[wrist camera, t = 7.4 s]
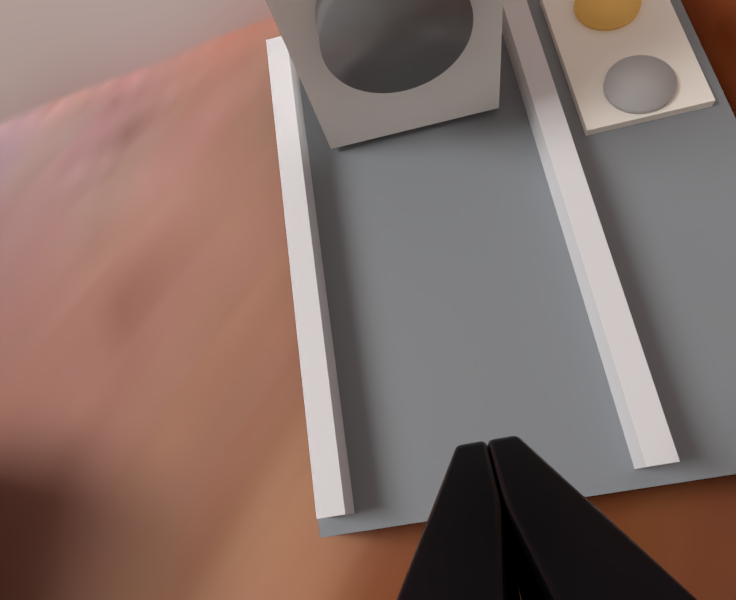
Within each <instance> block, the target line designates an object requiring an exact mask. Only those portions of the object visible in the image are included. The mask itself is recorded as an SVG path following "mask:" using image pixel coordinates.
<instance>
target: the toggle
mask: <svg viewBox="0 0 736 600" xmlns="http://www.w3.org/2000/svg"><path fill="white" fill-rule="evenodd" d="M266 2H267V4H268V6H269V8H270V11H271V13H272V15H273V18H274V20H275V22H276V25H277V27H278V29H279V31H280V34H281V36H282V38H283V41H284V43H285V45H286V47H287V50H288V52H289V54H290V57H291V59H292V61H293V63H294V66H295V68H296V70H297V73H298V75H299V77H300V80H301V82H302V84H303V86H304V89H305V91H306V93H307V96H308V98H309V100H310V102H311V105H312V107H313V109H314V112H315V114H316V116H317V118H318V121H319V123H320V125H321V128H322V130H323V132H324V134H325V137H326V139H327V141H328V144H329V146H330V148H331V149H333V148H337V147H342V146H346V145H350V144H354V143H358V142H362V141H366V140H370V139H374V138H378V137H382V136H387V135H391V134H395V133H399V132H403V131H407V130H411V129H415V128H419V127H423V126H427V125H431V124H436V123H440V122H444V121H448V120H452V119H456V118H460V117H464V116H468V115H472V114H476V113H481V112H485V111H489V110H493V109H497V108H499V93H500V67H501V41H502V14H503V0H266Z"/></svg>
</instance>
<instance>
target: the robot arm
mask: <svg viewBox="0 0 736 600" xmlns="http://www.w3.org/2000/svg"><path fill="white" fill-rule="evenodd" d="M518 588H519V589H518ZM519 593H520V594H519ZM520 596H521V600H697V599H696V598H695V597H694V596H693V595H692V594H690V593H689V592H688V591H687V590H686V589H685V588H684V587H683V586H682V585H681V584H680V583H678V582H677V581H676V580H675V579H674V578H673V577H672V576H671V575H670V574H669V573H667V572H666V571H665V570H664V569H663V568H662V567H661V566H660V565H659V564H658V563H657V562H655V561H654V560H653V559H652V558H651V557H650V556H649V555H648V554H647V553H646V552H644V551H643V550H642V549H641V548H640V547H639V546H638V545H637V544H636V543H635V542H634V541H632V540H631V539H630V538H629V537H628V536H627V535H626V534H625V533H624V532H623V531H621V530H620V529H619V528H618V527H617V526H616V525H615V524H614V523H613V522H612V521H610V520H609V519H608V518H607V517H606V516H605V515H604V514H603V513H602V512H601V511H600V510H598V509H597V508H596V507H595V506H594V505H593V504H592V503H591V502H590V501H589V500H587V499H586V498H585V497H584V496H583V495H582V494H581V493H580V492H579V491H578V490H577V489H575V488H574V487H573V486H572V485H571V484H570V483H569V482H568V481H567V480H566V479H564V478H563V477H562V476H561V475H560V474H559V473H558V472H557V471H556V470H555V469H554V468H552V467H551V466H550V465H549V464H548V463H547V462H546V461H545V460H544V459H543V458H541V457H540V456H539V455H538V454H537V453H536V452H535V451H534V450H533V449H532V448H531V447H529V446H528V445H527V444H526V443H525V442H524V441H523V440H522V439H521V438H519V437H517V436H509V437H503V438H497V439H492V440H490V441H489V442H488V446H487V444H486V443H485V442H483V441H480V442H474V443H468V444H462V445H459V446H457V447H456V449H455V451H454V453H453V456H452V458H451V461H450V463H449V466H448V469H447V471H446V474H445V476H444V479H443V481H442V484H441V487H440V489H439V492H438V494H437V497H436V499H435V502H434V505H433V507H432V510H431V512H430V515H429V517H428V520H427V523H426V525H425V528H424V530H423V533H422V535H421V538H420V541H419V543H418V546H417V548H416V551H415V553H414V556H413V559H412V561H411V564H410V566H409V569H408V571H407V574H406V577H405V579H404V582H403V584H402V587H401V589H400V592H399V595H398V597H397V600H520Z"/></svg>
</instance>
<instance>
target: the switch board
mask: <svg viewBox="0 0 736 600" xmlns="http://www.w3.org/2000/svg"><path fill="white" fill-rule="evenodd" d="M266 43H267V53H268V62H269V71H270V81H271V90H272V100H273V109H274V119H275V128H276V138H277V147H278V157H279V166H280V176H281V185H282V195H283V204H284V214H285V223H286V233H287V242H288V252H289V261H290V271H291V280H292V290H293V299H294V309H295V318H296V328H297V337H298V347H299V356H300V366H301V375H302V385H303V394H304V404H305V413H306V423H307V432H308V442H309V451H310V461H311V470H312V480H313V489H314V498H315V508H316V517H317V519H318V523H319V533H320V538H321V537H328V536H334V535H341V534H347V533H354V532H360V531H367V530H373V529H380V528H386V527H393V526H399V525H406V524H412V523H419V522H426V521H427V520H428V517H429V515H430V512H431V510H432V507H433V505H434V502H435V499H436V497H437V494H438V492H439V489H440V487H441V484H442V481H443V479H444V476H445V474H446V471H447V469H448V466H449V463H450V461H451V458H452V456H453V453H454V451H455V449H456V447H457V446H459V445H462V444H468V443H474V442H480V441H483V442H485V443H486V444H487V446H488V442H489V441H490V440H492V439H497V438H503V437H509V436H517V437H519V438H521V439H522V440H523V441H524V442H525V443H526V444H527V445H528V446H529V447H531V448H532V449H533V450H534V451H535V452H536V453H537V454H538V455H539V456H540V457H541V458H543V459H544V460H545V461H546V462H547V463H548V464H549V465H550V466H551V467H552V468H554V469H555V470H556V471H557V472H558V473H559V474H560V475H561V476H562V477H563V478H564V479H566V480H567V481H568V482H569V483H570V484H571V485H572V486H573V487H574V488H575V489H577V490H578V491H579V492H580V493H581V494H582V495H583V496H584V497H589V496H595V495H602V494H608V493H615V492H621V491H628V490H634V489H641V488H647V487H654V486H660V485H667V484H673V483H680V482H687V481H693V480H700V479H706V478H713V477H719V476H726V475H732V474H736V118H735V116H734V114H733V112H732V110H731V107H730V105H729V103H728V101H727V99H726V97H725V95H724V92H723V90H722V88H721V86H720V84H719V82H718V79H717V77H716V75H715V73H714V71H713V69H712V67H711V64H710V62H709V60H708V58H707V56H706V54H705V52H704V49H703V47H702V45H701V43H700V41H699V39H698V36H697V34H696V32H695V30H694V28H693V26H692V24H691V21H690V19H689V17H688V15H687V13H686V11H685V8H684V6H683V4H682V2H681V0H503V14H502V41H501V67H500V93H499V108H497V109H493V110H489V111H485V112H481V113H476V114H472V115H468V116H464V117H460V118H456V119H452V120H448V121H444V122H440V123H436V124H431V125H427V126H423V127H419V128H415V129H411V130H407V131H403V132H399V133H395V134H391V135H387V136H382V137H378V138H374V139H370V140H366V141H362V142H358V143H354V144H350V145H346V146H342V147H337V148H333V149H331V148H330V146H329V144H328V141H327V139H326V137H325V134H324V132H323V130H322V128H321V125H320V123H319V121H318V118H317V116H316V114H315V112H314V109H313V107H312V105H311V102H310V100H309V98H308V96H307V93H306V91H305V89H304V86H303V84H302V82H301V80H300V77H299V75H298V73H297V70H296V68H295V66H294V63H293V61H292V59H291V57H290V54H289V52H288V50H287V47H286V45H285V43H284V41H283V38H282V36H279V37H276V38H272V39H269V40H266Z"/></svg>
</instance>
